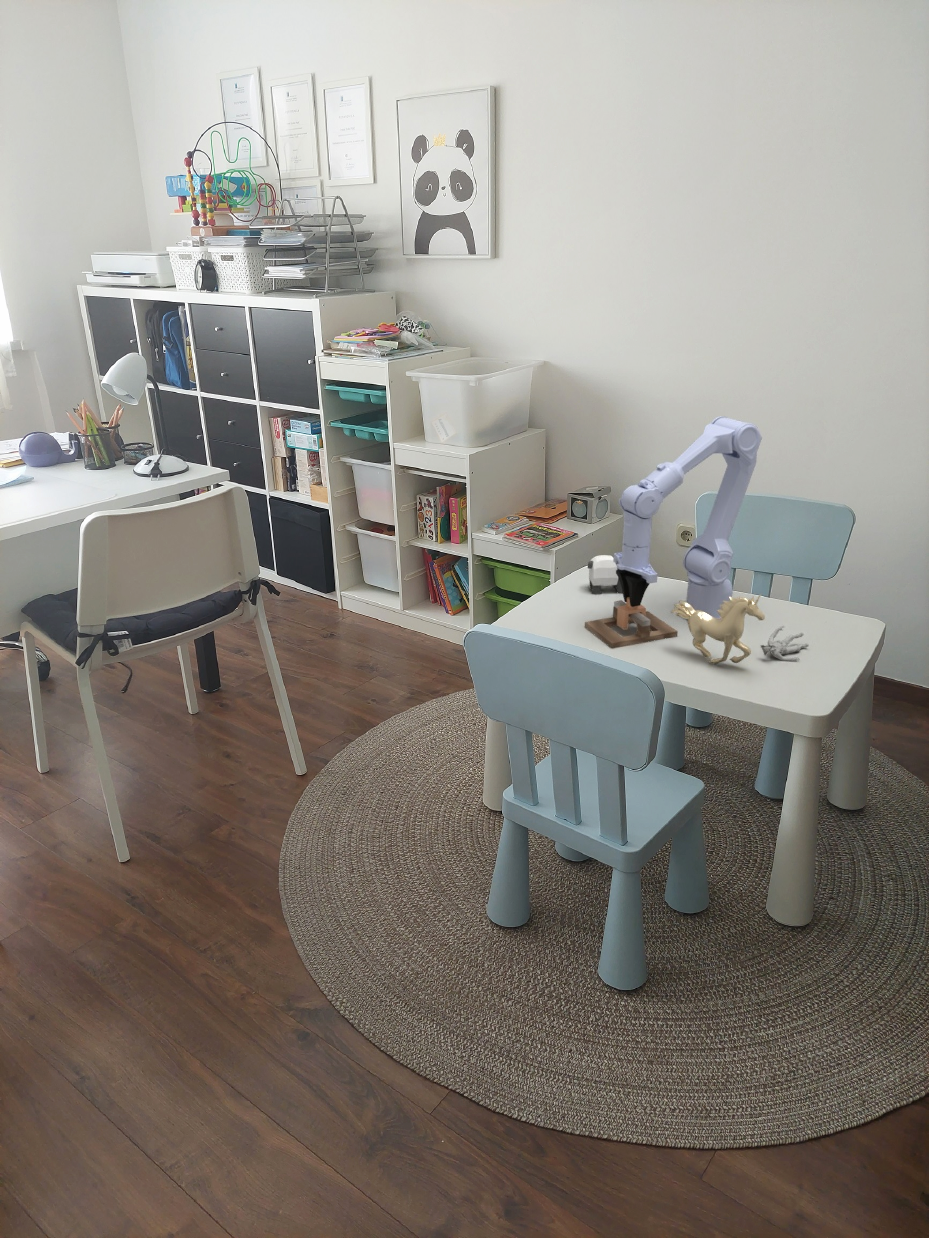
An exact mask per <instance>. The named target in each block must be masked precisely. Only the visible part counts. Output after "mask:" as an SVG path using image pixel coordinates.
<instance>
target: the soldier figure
mask: <svg viewBox="0 0 929 1238" xmlns="http://www.w3.org/2000/svg"><path fill="white" fill-rule="evenodd" d="M784 628H786V626H785V625H781V626H779V627H778V628H777V629H775V630H774V631H773V632H772V633H771V634H770V636H769V638H768V640H767V644H765V645H764V644H762V645H761V644H760V645H759V646H760V648H761V650H762V652H763V655H764V656H766V655H767V654H768V653H771V654H772V656H773V657H774V658H777V659H778V660H780V661H783V662H784V661H785V662H792V661H794V662H797V661H800V657H798V656H793V657H788V656H783V655H788V654H792V653H795V652H800V651H801V649H807V648H808V647H809V645H810V644H809V643H808V642H807V643H804V644H803V643H802V644H799V645H792V646H791V645H790V646H788V645H789V644H790V642H792V641H793V640H795V639H799V638H802V637H803V636H804V632H800V633H797V634H789V635H787V636H786V637H785V638H784V639H783V640H782V641H781V640H775V638H776V637H777V635H778V633H779V631H783V629H784Z"/></svg>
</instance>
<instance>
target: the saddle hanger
mask: <svg viewBox="0 0 929 1238" xmlns="http://www.w3.org/2000/svg"><path fill="white" fill-rule="evenodd" d="M625 603H626V602H625ZM646 611H647V607H646V606H644V605H643V604H642V603H641V604H640V606H634V607H632V606H630V597H627V603H626V605H623V606H618V611H617V626H618V627H619V628H620V629H622V630H624V631H625V630H628V629H629V623H628V618H629V614H633V613H638V612H639V613H641V614H642V615H644V616H645V615H646ZM633 622H634V623H635V624H636V625H637V622H635V621H633Z"/></svg>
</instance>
